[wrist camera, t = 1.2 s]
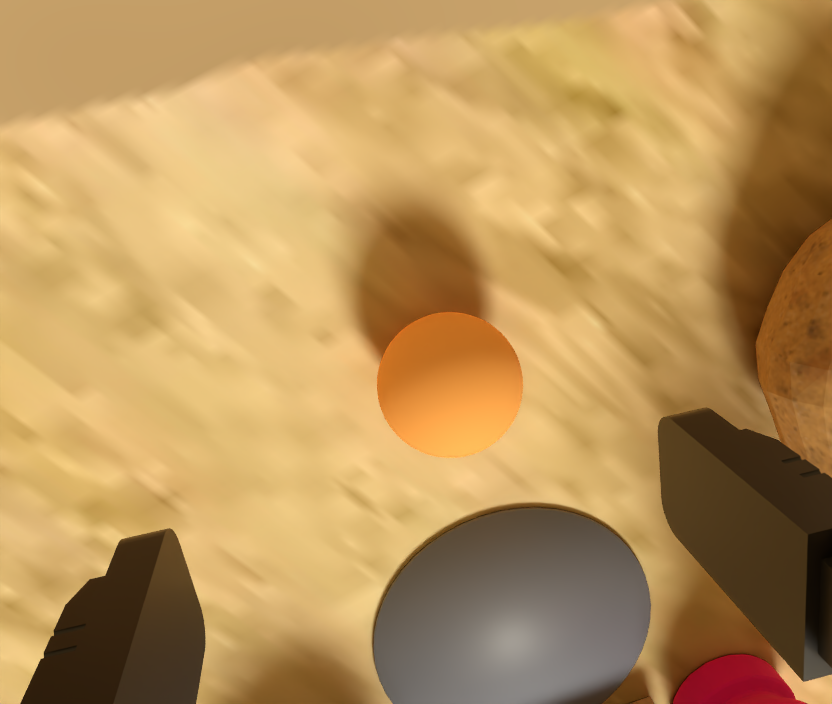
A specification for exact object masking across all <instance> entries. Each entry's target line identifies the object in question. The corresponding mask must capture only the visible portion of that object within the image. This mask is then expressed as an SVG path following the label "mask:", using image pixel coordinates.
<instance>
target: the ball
mask: <svg viewBox="0 0 832 704" xmlns="http://www.w3.org/2000/svg"><path fill="white" fill-rule="evenodd" d="M377 391H378V399H379V403H380V407H381V410H382V412H383V415H384V417H385V419H386V421H387V422H388V424H389V426H390V427H391V428H392V430H393V431H394V432H395V433H396V434H397V435H398V436H399V437H400V438H401V439H402V440H403V441H404V442H405V443H407V444H408V445H410V446H411V447H413V448H415V449H417V450H419V451H421V452H423V453H426V454H428V455H432V456H436V457H445V458H457V457H464V456H468V455H472V454H475V453H477V452H480V451H482V450H484V449H486V448H488V447H489V446H491V445H492V444H493V443H495V442H496V441H497V440H498V439H499V438H501V437H502V436H503V434H504V433H505V432H506V431H507V430H508V428H509V427H510V425H511V424H512V422H513V421H514V419H515V417H516V415H517V412H518V410H519V407H520V403H521V399H522V391H523V377H522V371H521V367H520V363H519V360H518V357H517V355H516V353H515V351H514V349H513V348H512V346H511V345H510V343H509V342H508V340H507V339H506V338H505V337H504V336H503V334H502V333H501V332H499V331H498V330H497V329H496V328H495V327H493V326H492V325H491V324H489V323H488V322H486V321H484V320H482V319H480V318H478V317H475V316H472V315H468V314H465V313H459V312H441V313H435V314H431V315H427V316H425V317H422V318H420V319H418V320H416V321H414V322H412V323H411V324H409V325H408V326H406V327H405V328H404V329H402V330H401V331H400V332H399V333H398V334H397V335H396V336H395V337H394V339H393V340H392V341H391V342H390V344H389V346H388V347H387V349H386V351H385V353H384V355H383V357H382V360H381V363H380V366H379V370H378V376H377Z"/></svg>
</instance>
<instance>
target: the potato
mask: <svg viewBox="0 0 832 704" xmlns="http://www.w3.org/2000/svg"><path fill="white" fill-rule="evenodd" d="M756 355H757V367H758V379H759V382H760V385H761V387H762V390H763V393H764V395H765V398H766V401H767V403H768V406H769V409H770V411H771V414H772V417H773V420H774V423H775V426H776V429H777V432H778V435H779V438H780V441H781V443H783V444H784V445H786V446H787V447H788V448H790V449H791V450H793V451H794V452H796V453H797V454H799V455H800V456H801V459H802V460H804V459H806V460H807V461H809V462H810V463H811V464H813V465H814V466H816V467H817V468H819V469H820V472H821V473H826V474H827V475H829V476H830V477H831V478H832V219H831V220H829V221H828V222H827V223H825V224H824V225H823V226H821V227H820V228H819V229H817V230H816V231H815V232H813V233H812V234H811V235H809V236H808V238H807V239H806V240H805V242H804V243H803V244H802V246H801V247H800V248H799V250H798V251H797V253H796V254H795V255H794V257H793V258H792V259H791V261H790V262H789V263H788V265H787V266H786V267H785V269H784V270H783V272H782V275H781V277H780V279H779V282H778V284H777V286H776V288H775V291H774V293H773V295H772V298H771V300H770V302H769V305H768V307H767V310H766V313H765V316H764V319H763V322H762V325H761V328H760V331H759V334H758V337H757V340H756Z"/></svg>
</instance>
